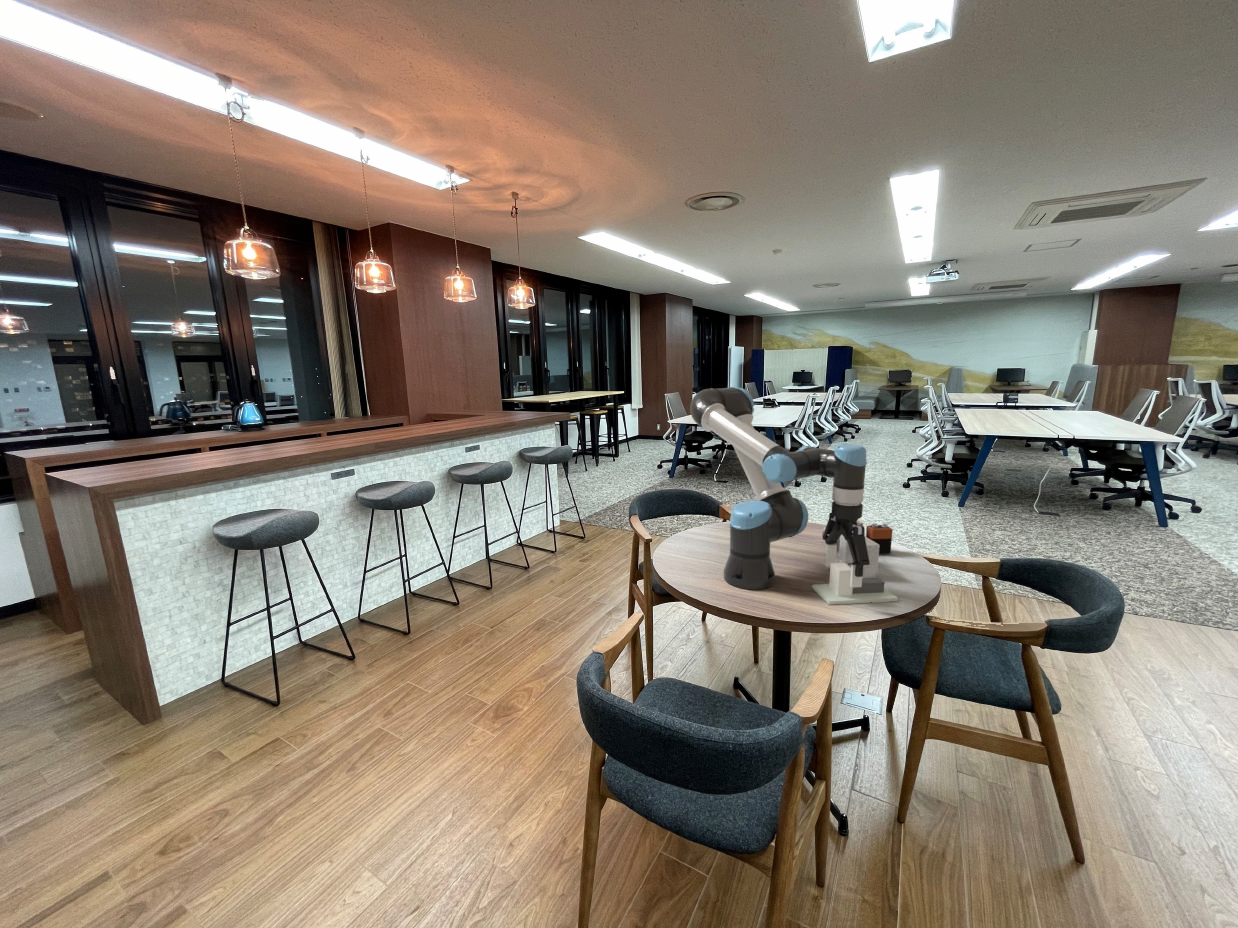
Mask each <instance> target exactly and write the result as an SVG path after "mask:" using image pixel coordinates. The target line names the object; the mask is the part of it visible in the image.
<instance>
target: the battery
mask: <svg viewBox="0 0 1238 928" xmlns="http://www.w3.org/2000/svg"><path fill="white" fill-rule="evenodd" d="M865 533H866V534H865V537H867V538H869V539H870V540H872V541H874V542H875V543H877V544H879V545H880V546H879V555H890V554H891V553H892V552H891V551H892V540H893V528H892V527H890V526H888V524H886V523H882V524H878V523H871V525H869V524H868V525H867V526H866V530H865Z"/></svg>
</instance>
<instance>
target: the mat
mask: <svg viewBox="0 0 1238 928" xmlns="http://www.w3.org/2000/svg"><path fill="white" fill-rule="evenodd" d="M811 589H812V590H814V592H815V593H817V594H818V596H820V598H821V599H823V601H825V603H827V604H828V605H847V604H848V605H849V604H850V605H851V604H867V603H870V602H872V603H889V602H890V601H893V602H898V600H899V599H898V597H897V596H896V595H894V593H892V592H890V591H889V590H888V589H887V588H885V587H884V592H881V593H858V594H852V596H837V595H836V594H835V593H834V592H833V591H832V590H831V589H830V588H829V583H824V584H822V583H821V584H812V585H811ZM870 604H871V603H870Z"/></svg>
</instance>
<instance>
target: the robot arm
mask: <svg viewBox="0 0 1238 928" xmlns="http://www.w3.org/2000/svg"><path fill="white" fill-rule="evenodd" d="M754 406H755V401H754V398H753V397H752V395H751V393H749V391H747V390H746V389H745V388H742V387H736V386H735V387H733V386H729V387H724V388H720V387H719V388H705V389H702V390H700V391H699V392H697V393H696V394H695V395H694V396H693V398H692V400H691V401H690V406H689V408H690V409H689V411H690V412H689V413H690V416H691V418H692V420H693V421H694V422H695V423H696V425H698V426H699V427H700V428H702V429H703V430H704V431H706V432H713V433H715V434H716V435H717V436H718V437H720V438H721V439H723V440H724V441H726V442H727V443H728V444H730V445H732V447H733V449H734V451H735V453H736V456H737V458H738V460H739V462H740V465H741V466H742V469H743V472H744V473H745V476H746V478H747V479H748V483H750V486H751V488H752V490H753V493H754V495H755V500H744V501H742V502H739V503H737V504H735V505H734V506H733V507H732V508H731V511H730V518H729V525H730V526H729V528H730V529H729V531H730V532H729V533H730V534H729V539H730V540H729V542H730V543H729V554H728V558H727V560H726V563H725V565H724V567H723V579H724V581H725V582H726V583H728V584H730V585H732V586H733V587H737V588H740V589H745V590H763V589H768V588H771V587H772V586H774V584H775V583H776V572H775V568H774V566H773V563H772V560H771V543H773V542H777V541H780V540H784V539H787V538H790V539H791V538H793V537H795V536H796V535H799V534H801V533H803V531H805V529H806V527H807V525H808V523H809V511H808V508H807V506H806V504H805V503H804V502H803V501H802V500H801V499H799V498H796V497H793V495H792V493H791V491H790V489H789V488H786V487H783V486H782V483H787V482H790V481H794V480H799V479H804V478H805V479H806V478H809V477H813V476H818V477H819V476H821V477H827V478H830V479H832V481H833V482H832V495H831V497H832V498H831V499H832V502H831V512H829V514H828V521H827V523H826V526H825V527H826V528H825V531H824V534H823V537H822V540H823V541H825V542H824V543H825V544H826V549H825V564H824V565H825V567H826V568H827V567H828V568H830V566H831V563H837V554H838V553H837V545H836V544H834V543H836V542H837V540H838V539H839V537H840V536H841V535H843V536H844V538H845V540H846V541H847V542H848V545H849V549H850V552H851V555H852V558H853V563H851V564H850V567H851V579H850V587H851V588H852V587H862V576H863V566H864V565H869V564H870V562H869V557H868V551H867V546H866V541H865V537H866V534H865V533H866V530H865V526H864V525H863V526H857V520H858V519H861V518H863V512H864V511H863V510H864V508H863V507H864V505H863V504H862V503H864V502H863V501H864V493H865V478H866V468H867V463H868V462H867V449H866V447H865V446H863V445H860V444H851V443H850V444H848V443H847V444H846V443H844V444H842V443H841V444H837V445H836V446H835V449H834V450H832V449H831V450H830V449H826V448H819V447H814V446H801V447H799V448H798V450H795V451H789V450H788V449H786V448H784V447H783V446H781V445H779V444H777V443H776V442H775V441H773V440H772V439H770V438H769V437H767V436H765V435H764V434H762V433H760V432H759V431H758V430H756V429H755V428H754V426H753V424H752V422H753V421H754V415H753V414H754V412H755V411H754V410H755V408H754Z"/></svg>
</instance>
